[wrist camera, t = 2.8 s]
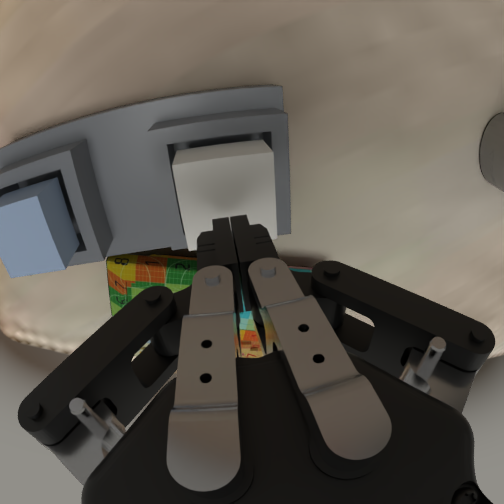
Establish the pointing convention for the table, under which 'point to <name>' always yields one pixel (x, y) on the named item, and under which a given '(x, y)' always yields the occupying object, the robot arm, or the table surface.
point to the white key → (225, 186)
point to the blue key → (36, 230)
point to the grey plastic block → (144, 164)
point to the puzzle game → (175, 278)
